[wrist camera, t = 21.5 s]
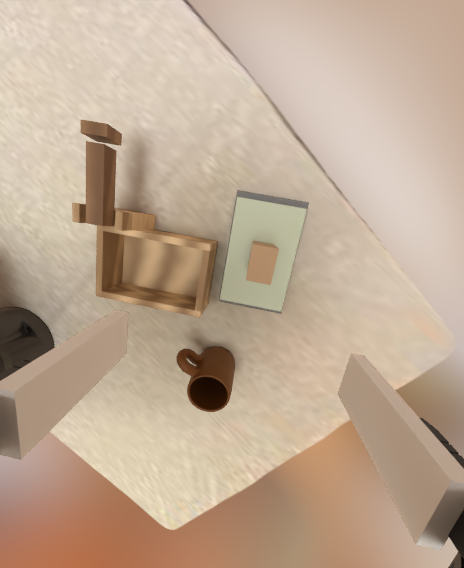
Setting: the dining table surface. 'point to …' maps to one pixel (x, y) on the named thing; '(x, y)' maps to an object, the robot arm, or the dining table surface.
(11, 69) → the dining table surface
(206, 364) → the mug
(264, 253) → the lid
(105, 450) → the dining table surface
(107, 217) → the bar
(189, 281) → the toolbox
